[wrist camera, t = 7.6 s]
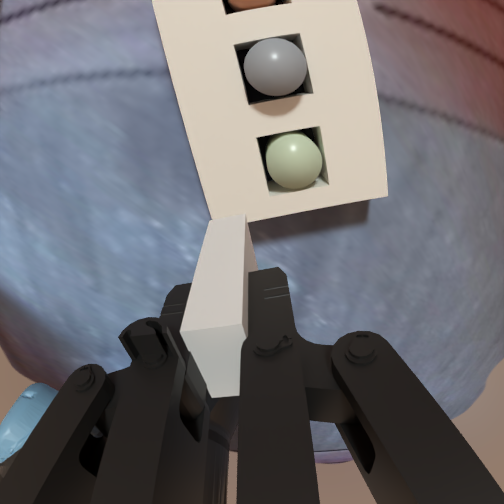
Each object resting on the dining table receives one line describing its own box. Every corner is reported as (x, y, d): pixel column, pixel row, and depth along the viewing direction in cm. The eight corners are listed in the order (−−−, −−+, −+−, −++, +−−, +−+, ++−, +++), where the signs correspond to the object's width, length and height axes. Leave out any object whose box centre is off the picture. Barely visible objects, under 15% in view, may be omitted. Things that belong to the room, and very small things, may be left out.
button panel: (371, 180, 27) (387, 196, 23) (219, 210, 29) (214, 229, 25) (323, -50, 16) (333, -68, 13) (158, -20, 18) (144, -33, 14)
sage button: (316, 169, 26) (325, 183, 23) (270, 178, 27) (273, 193, 23) (308, 124, 24) (317, 131, 21) (260, 133, 25) (261, 141, 21)
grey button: (303, 89, 22) (312, 90, 18) (252, 99, 22) (251, 101, 19) (292, 41, 20) (299, 33, 16) (240, 51, 20) (237, 44, 17)
